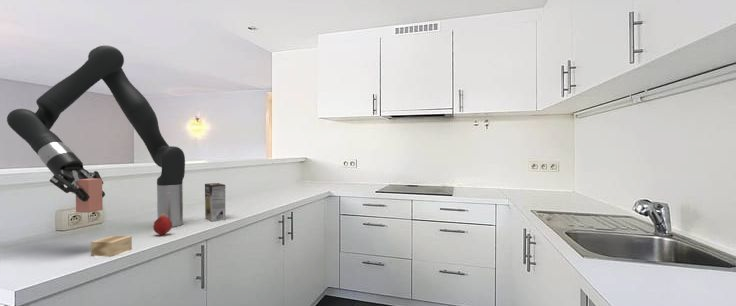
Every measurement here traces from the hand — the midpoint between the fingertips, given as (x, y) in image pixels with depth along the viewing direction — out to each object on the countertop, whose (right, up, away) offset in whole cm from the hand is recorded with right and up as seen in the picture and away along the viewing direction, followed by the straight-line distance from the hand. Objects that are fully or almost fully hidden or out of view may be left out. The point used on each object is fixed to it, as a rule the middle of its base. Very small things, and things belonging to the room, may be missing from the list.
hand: (94, 198), depth 102 cm
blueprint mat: (+1, -17, 0) cm, 17 cm away
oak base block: (+6, -17, -1) cm, 18 cm away
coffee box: (+15, -16, +48) cm, 53 cm away
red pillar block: (-2, -4, 0) cm, 5 cm away
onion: (+9, -17, +19) cm, 27 cm away
